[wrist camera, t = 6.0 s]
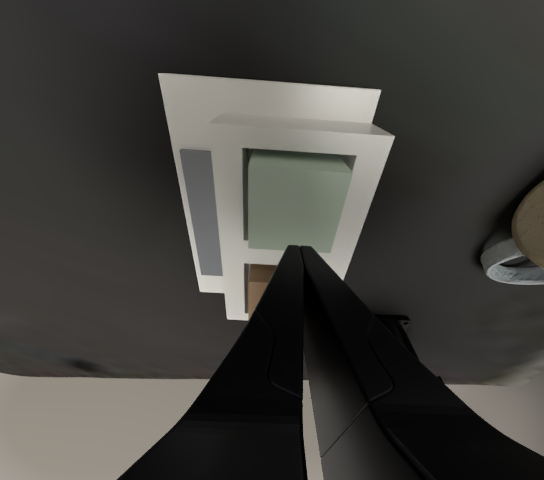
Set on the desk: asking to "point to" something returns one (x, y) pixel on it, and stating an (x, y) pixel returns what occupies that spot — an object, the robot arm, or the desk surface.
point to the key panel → (236, 156)
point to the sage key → (295, 198)
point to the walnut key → (258, 284)
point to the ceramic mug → (521, 244)
